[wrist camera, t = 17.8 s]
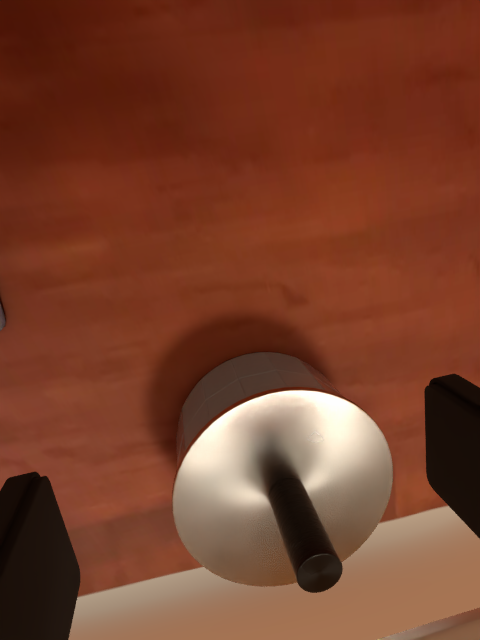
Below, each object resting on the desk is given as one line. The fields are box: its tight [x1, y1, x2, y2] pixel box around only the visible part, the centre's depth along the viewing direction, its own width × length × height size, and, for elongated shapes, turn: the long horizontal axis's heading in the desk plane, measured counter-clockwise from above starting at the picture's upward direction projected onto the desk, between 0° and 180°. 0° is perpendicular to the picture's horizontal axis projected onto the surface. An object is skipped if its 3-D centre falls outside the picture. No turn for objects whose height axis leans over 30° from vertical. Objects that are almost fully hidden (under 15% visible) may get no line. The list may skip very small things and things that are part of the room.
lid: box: [172, 387, 393, 593], centre depth 28 cm, size 17×17×8 cm
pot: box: [176, 352, 342, 468], centre depth 36 cm, size 16×16×9 cm
